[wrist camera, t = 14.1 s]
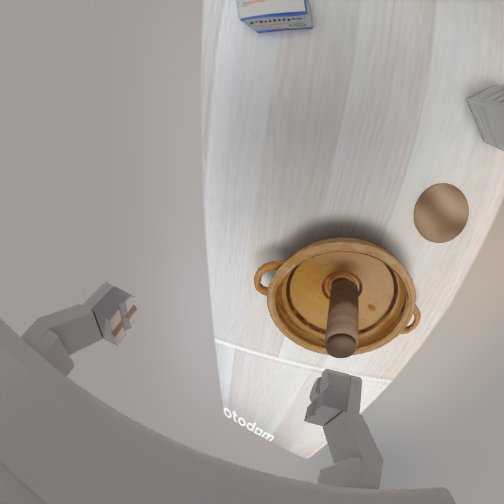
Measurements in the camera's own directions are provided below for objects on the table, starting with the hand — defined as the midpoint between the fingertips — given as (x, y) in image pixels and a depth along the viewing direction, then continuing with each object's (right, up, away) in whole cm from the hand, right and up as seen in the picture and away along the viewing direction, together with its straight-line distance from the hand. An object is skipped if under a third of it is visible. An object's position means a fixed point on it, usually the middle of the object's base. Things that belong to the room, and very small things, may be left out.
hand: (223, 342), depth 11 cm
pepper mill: (+15, -2, +29) cm, 33 cm away
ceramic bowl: (+17, -1, +38) cm, 42 cm away
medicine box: (+5, +36, +17) cm, 40 cm away
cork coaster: (+31, +10, +26) cm, 41 cm away
